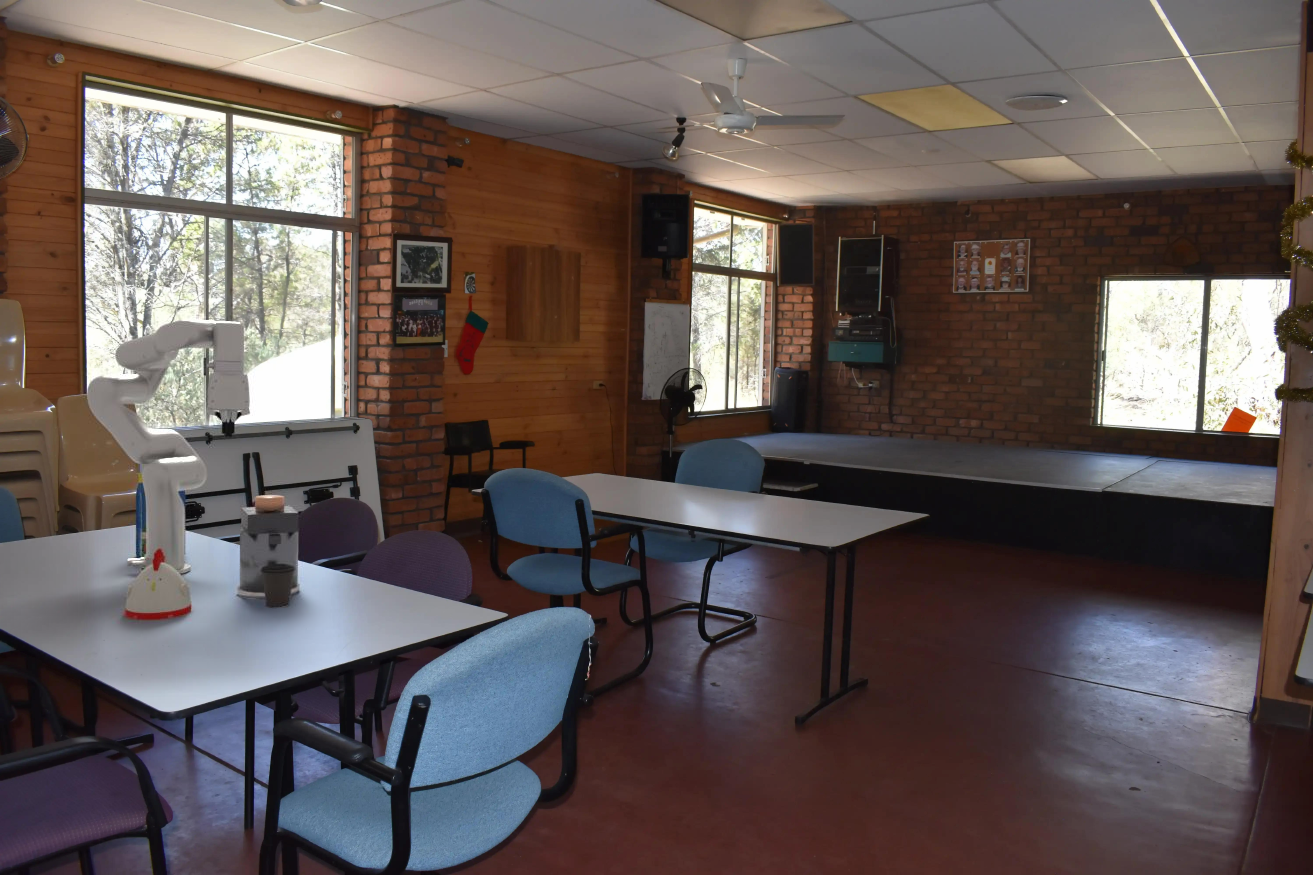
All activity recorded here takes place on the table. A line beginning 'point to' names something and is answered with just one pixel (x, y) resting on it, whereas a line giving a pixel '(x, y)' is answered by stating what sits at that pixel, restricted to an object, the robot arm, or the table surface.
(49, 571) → the table surface
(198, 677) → the table surface
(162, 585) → the kitchen timer
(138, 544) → the blue food package
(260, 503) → the button
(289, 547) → the airpot
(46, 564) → the table surface
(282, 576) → the coffee cup
